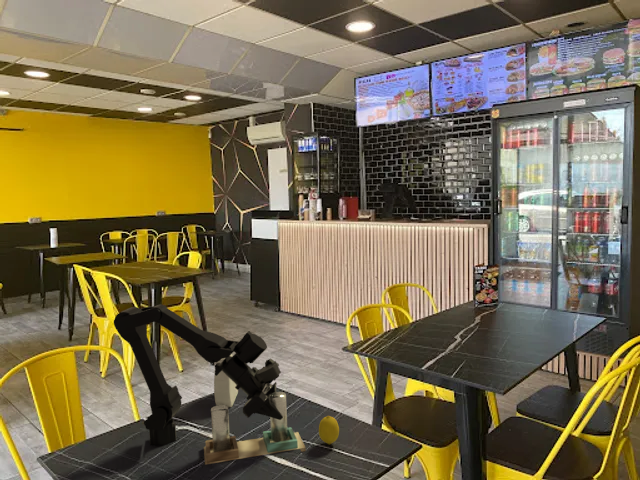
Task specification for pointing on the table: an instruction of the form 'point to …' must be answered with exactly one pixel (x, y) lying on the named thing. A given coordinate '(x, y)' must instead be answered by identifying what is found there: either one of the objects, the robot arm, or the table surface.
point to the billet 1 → (220, 428)
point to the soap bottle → (224, 389)
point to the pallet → (253, 447)
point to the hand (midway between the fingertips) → (283, 414)
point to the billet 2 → (277, 425)
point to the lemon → (328, 430)
